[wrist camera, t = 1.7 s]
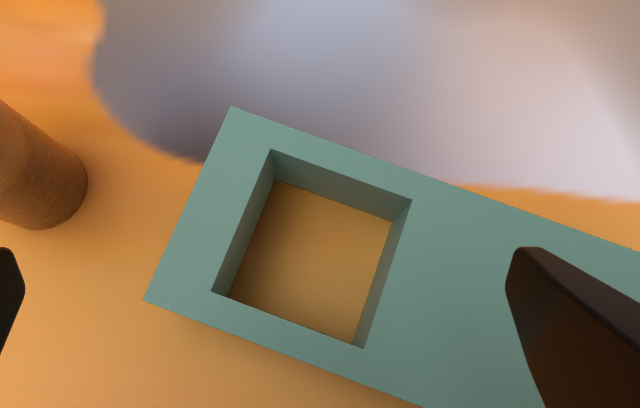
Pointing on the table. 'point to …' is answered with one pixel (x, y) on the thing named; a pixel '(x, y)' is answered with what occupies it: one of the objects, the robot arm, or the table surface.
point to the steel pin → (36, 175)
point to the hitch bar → (392, 272)
